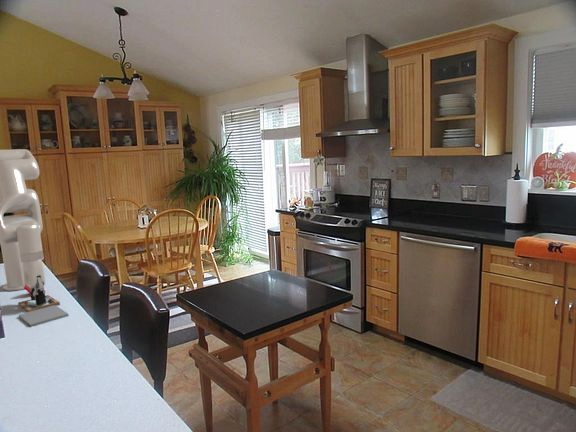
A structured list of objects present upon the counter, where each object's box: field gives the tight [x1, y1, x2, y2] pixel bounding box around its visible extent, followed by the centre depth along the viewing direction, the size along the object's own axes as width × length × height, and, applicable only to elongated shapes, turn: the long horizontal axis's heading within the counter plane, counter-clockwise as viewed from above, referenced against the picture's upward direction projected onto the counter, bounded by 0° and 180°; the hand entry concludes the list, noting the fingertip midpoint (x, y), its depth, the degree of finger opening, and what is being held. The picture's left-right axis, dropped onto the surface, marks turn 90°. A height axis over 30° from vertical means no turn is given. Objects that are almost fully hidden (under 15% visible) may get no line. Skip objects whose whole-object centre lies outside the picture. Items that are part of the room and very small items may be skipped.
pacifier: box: [28, 290, 49, 307], centre depth 166 cm, size 7×6×6 cm
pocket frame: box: [17, 294, 61, 313], centre depth 166 cm, size 14×11×1 cm
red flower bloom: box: [23, 284, 46, 295], centre depth 179 cm, size 8×6×6 cm
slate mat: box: [18, 305, 69, 328], centre depth 153 cm, size 14×12×1 cm
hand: (38, 301), depth 165 cm, fingers closed on pacifier, 5 cm apart
